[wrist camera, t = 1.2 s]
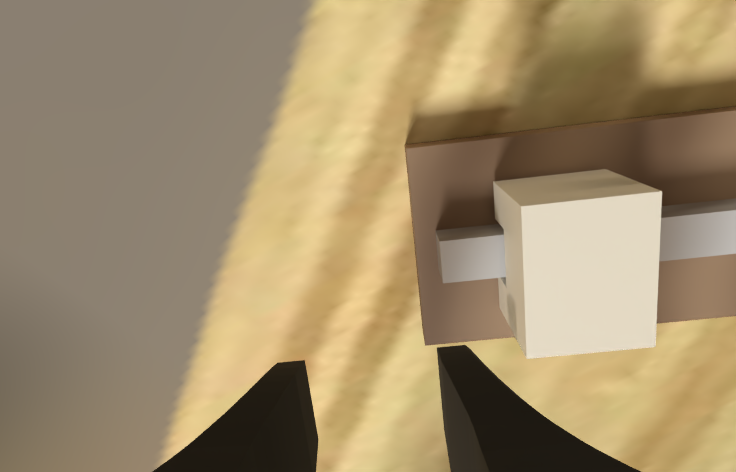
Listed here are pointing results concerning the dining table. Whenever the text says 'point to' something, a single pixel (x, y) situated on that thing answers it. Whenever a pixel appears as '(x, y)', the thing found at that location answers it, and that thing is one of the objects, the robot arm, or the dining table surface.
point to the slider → (579, 262)
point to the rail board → (568, 155)
